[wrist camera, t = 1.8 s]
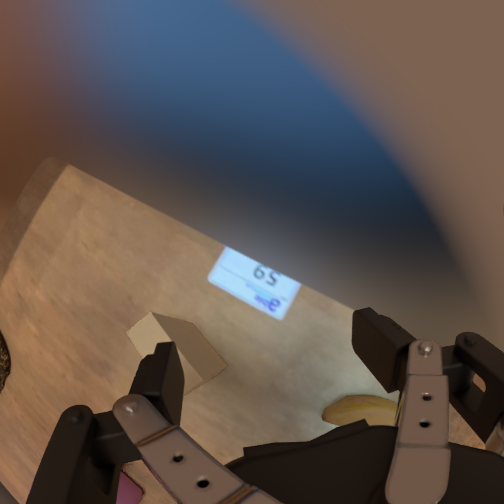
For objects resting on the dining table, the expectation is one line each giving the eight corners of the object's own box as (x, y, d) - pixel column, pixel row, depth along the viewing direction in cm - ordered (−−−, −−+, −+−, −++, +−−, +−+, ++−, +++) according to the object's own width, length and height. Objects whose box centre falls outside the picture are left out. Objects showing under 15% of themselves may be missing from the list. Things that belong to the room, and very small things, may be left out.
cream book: (192, 322, 28) (150, 311, 17) (227, 365, 26) (203, 380, 16) (175, 337, 27) (125, 332, 17) (209, 379, 26) (176, 401, 16)
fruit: (370, 365, 25) (382, 368, 22) (434, 447, 21) (448, 455, 18) (316, 411, 24) (322, 420, 21) (388, 488, 20) (398, 500, 17)
